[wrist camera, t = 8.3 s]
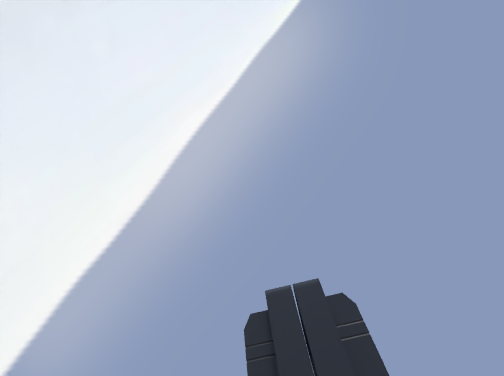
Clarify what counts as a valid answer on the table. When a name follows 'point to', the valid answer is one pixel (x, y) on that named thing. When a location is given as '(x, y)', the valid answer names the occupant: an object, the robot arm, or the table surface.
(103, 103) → the table surface
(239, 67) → the table surface
